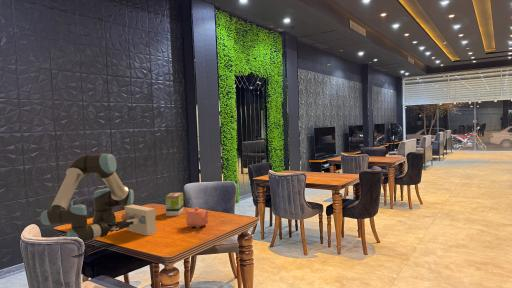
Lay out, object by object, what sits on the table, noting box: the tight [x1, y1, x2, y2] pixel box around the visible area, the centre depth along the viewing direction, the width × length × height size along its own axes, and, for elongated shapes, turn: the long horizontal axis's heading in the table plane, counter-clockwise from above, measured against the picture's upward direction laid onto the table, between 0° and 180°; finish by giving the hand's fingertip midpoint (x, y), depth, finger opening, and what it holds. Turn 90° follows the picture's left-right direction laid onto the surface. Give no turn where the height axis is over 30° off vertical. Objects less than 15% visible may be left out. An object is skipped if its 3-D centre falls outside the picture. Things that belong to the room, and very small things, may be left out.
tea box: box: [165, 192, 185, 217], centre depth 268 cm, size 15×10×15 cm, turn 179°
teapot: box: [185, 207, 210, 230], centre depth 229 cm, size 20×12×12 cm, turn 58°
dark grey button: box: [140, 216, 145, 224], centre depth 216 cm, size 4×2×4 cm, turn 50°
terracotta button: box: [120, 213, 128, 221], centre depth 224 cm, size 4×2×4 cm, turn 50°
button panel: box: [124, 204, 157, 237], centre depth 223 cm, size 24×6×15 cm, turn 50°
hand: (136, 220), depth 213 cm, fingers closed
